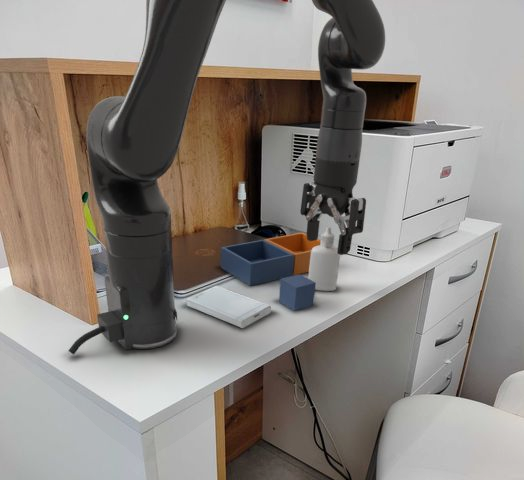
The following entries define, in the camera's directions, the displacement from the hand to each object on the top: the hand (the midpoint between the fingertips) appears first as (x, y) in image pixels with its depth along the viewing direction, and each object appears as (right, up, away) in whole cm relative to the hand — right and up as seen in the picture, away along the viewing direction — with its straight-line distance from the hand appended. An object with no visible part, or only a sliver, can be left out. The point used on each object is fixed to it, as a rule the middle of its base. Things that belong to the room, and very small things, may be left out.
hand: (327, 246), depth 93 cm
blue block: (-6, -11, -3) cm, 13 cm away
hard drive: (-18, -12, -6) cm, 23 cm away
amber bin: (-5, 0, +15) cm, 16 cm away
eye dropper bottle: (-1, -7, +4) cm, 8 cm away
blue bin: (-13, -3, +10) cm, 17 cm away
